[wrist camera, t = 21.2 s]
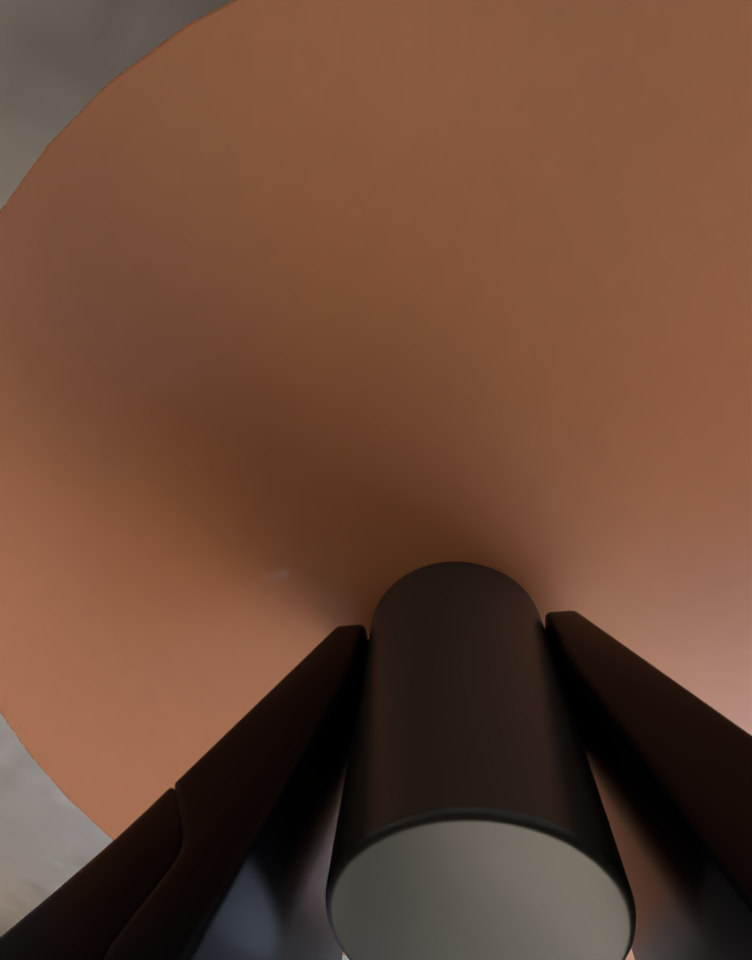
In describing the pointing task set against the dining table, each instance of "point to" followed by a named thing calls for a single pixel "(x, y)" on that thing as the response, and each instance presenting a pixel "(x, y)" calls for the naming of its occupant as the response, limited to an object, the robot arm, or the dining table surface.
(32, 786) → the dining table surface
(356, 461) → the lid
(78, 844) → the dining table surface
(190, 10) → the dining table surface
